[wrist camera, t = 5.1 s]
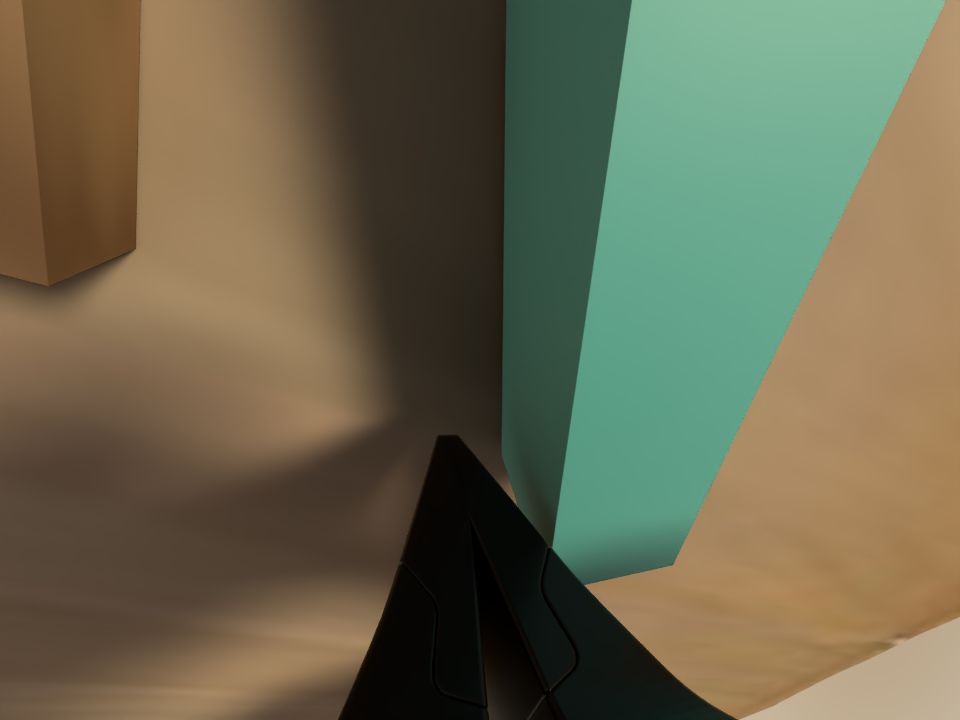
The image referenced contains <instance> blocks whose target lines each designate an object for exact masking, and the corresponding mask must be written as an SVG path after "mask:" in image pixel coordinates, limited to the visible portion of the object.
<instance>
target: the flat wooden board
mask: <svg viewBox="0 0 960 720" xmlns="http://www.w3.org/2000/svg"><path fill="white" fill-rule="evenodd" d="M140 3H141V0H0V274H3V275H6V276H10V277H14V278H18V279H22V280H26V281H30V282H33V283H37V284H41V285H45V286H50V285H52V284H55V283H57V282H59V281H62V280H64V279H66V278H69V277H71V276H73V275H76V274H78V273H80V272H83V271H85V270H87V269H90V268H92V267H94V266H97V265H99V264H101V263H103V262H106V261H108V260H110V259H113V258H115V257H117V256H120V255H122V254H124V253H127V252H129V251H131V250H134V249H136V208H137V157H138V105H139V54H140Z"/></svg>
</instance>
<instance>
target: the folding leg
mask: <svg viewBox="0 0 960 720" xmlns="http://www.w3.org/2000/svg"><path fill="white" fill-rule="evenodd" d="M945 1H946V0H506V84H505V182H504V280H503V378H502V457H503V460H504V464H505V467H506V470H507V473H508V476H509V479H510V482H511V486H512V489H513V492H514V495H515V498H516V501H517V504H518V508H519V509H520V510H521V512H522V513H523V514H524V515H525V516H526V518H527V519H528V520H529V521H530V522H531V524H532V525H533V526H534V527H535V528H536V530H537V531H538V532H539V533H540V534H541V536H542V537H543V538H544V539H545V540H546V542H547V543H548V544H549V547H551V548H552V549H553V550H554V551H555V552H556V554H557V555H558V556H559V557H560V558H561V560H562V561H563V562H564V563H565V564H566V565H567V567H568V568H569V569H570V570H571V571H572V572H573V573H574V575H575V576H576V577H577V578H578V579H579V580H580V581H581V583H582V584H583V585H586V584H590V583H595V582H599V581H604V580H608V579H613V578H617V577H622V576H626V575H631V574H635V573H640V572H644V571H649V570H653V569H658V568H662V567H667V566H671V565H673V564H674V562H675V559H676V557H677V555H678V553H679V551H680V549H681V547H682V545H683V543H684V541H685V539H686V537H687V535H688V533H689V531H690V528H691V526H692V524H693V522H694V520H695V518H696V516H697V514H698V512H699V510H700V508H701V506H702V504H703V502H704V499H705V497H706V495H707V493H708V491H709V489H710V487H711V485H712V483H713V481H714V479H715V477H716V475H717V473H718V471H719V468H720V466H721V464H722V462H723V460H724V458H725V456H726V454H727V452H728V450H729V448H730V446H731V444H732V442H733V440H734V437H735V435H736V433H737V431H738V429H739V427H740V425H741V423H742V421H743V419H744V417H745V415H746V413H747V411H748V408H749V406H750V404H751V402H752V400H753V398H754V396H755V394H756V392H757V390H758V388H759V386H760V384H761V382H762V380H763V377H764V375H765V373H766V371H767V369H768V367H769V365H770V363H771V361H772V359H773V357H774V355H775V353H776V351H777V348H778V346H779V344H780V342H781V340H782V338H783V336H784V334H785V332H786V330H787V328H788V326H789V324H790V322H791V320H792V317H793V315H794V313H795V311H796V309H797V307H798V305H799V303H800V301H801V299H802V297H803V295H804V293H805V291H806V289H807V286H808V284H809V282H810V280H811V278H812V276H813V274H814V272H815V270H816V268H817V266H818V264H819V262H820V260H821V257H822V255H823V253H824V251H825V249H826V247H827V245H828V243H829V241H830V239H831V237H832V235H833V233H834V231H835V229H836V226H837V224H838V222H839V220H840V218H841V216H842V214H843V212H844V210H845V208H846V206H847V204H848V202H849V200H850V198H851V195H852V193H853V191H854V189H855V187H856V185H857V183H858V181H859V179H860V177H861V175H862V173H863V171H864V169H865V166H866V164H867V162H868V160H869V158H870V156H871V154H872V152H873V150H874V148H875V146H876V144H877V142H878V140H879V138H880V135H881V133H882V131H883V129H884V127H885V125H886V123H887V121H888V119H889V117H890V115H891V113H892V111H893V109H894V106H895V104H896V102H897V100H898V98H899V96H900V94H901V92H902V90H903V88H904V86H905V84H906V82H907V80H908V78H909V75H910V73H911V71H912V69H913V67H914V65H915V63H916V61H917V59H918V57H919V55H920V53H921V51H922V49H923V47H924V44H925V42H926V40H927V38H928V36H929V34H930V32H931V30H932V28H933V26H934V24H935V22H936V20H937V18H938V15H939V13H940V11H941V9H942V7H943V5H944V3H945ZM549 547H548V548H549Z"/></svg>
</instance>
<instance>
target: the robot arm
mask: <svg viewBox="0 0 960 720" xmlns="http://www.w3.org/2000/svg"><path fill="white" fill-rule="evenodd" d="M548 547H549V544H548V543H547V542H546V540H545V539H544V538H543V537H542V536H541V534H540V533H539V532H538V531H537V530H536V528H535V527H534V526H533V525H532V524H531V522H530V521H529V520H528V519H527V518H526V516H525V515H524V514H523V513H522V512H521V510H520V509H519V508H518V507H517V506H516V504H515V503H514V502H513V501H512V500H511V498H510V497H509V496H508V495H507V494H506V492H505V491H504V490H503V489H502V488H501V486H500V485H499V484H498V483H497V482H496V480H495V479H494V478H493V477H492V476H491V474H490V473H489V472H488V471H487V470H486V468H485V467H484V466H483V465H482V463H481V462H480V461H479V460H478V459H477V457H476V456H475V455H474V454H473V453H472V451H471V450H470V449H469V448H468V447H467V445H466V444H465V443H464V442H463V441H462V439H461V438H460V437H459V436H458V435H438V436H437V438H436V442H435V445H434V448H433V452H432V455H431V458H430V462H429V465H428V468H427V472H426V475H425V478H424V482H423V485H422V488H421V492H420V495H419V498H418V502H417V505H416V508H415V512H414V515H413V518H412V522H411V525H410V528H409V532H408V535H407V538H406V542H405V545H404V548H403V551H402V555H401V558H400V562H399V565H398V567H397V571H396V574H395V577H394V581H393V584H392V587H391V590H390V593H389V596H388V599H387V602H386V605H385V608H384V611H383V614H382V617H381V619H380V622H379V624H378V626H377V629H376V631H375V634H374V636H373V639H372V641H371V644H370V646H369V649H368V651H367V653H366V656H365V658H364V660H363V663H362V665H361V667H360V670H359V672H358V674H357V676H356V679H355V681H354V683H353V686H352V688H351V690H350V692H349V695H348V697H347V699H346V702H345V704H344V706H343V709H342V711H341V713H340V715H339V718H338V720H737V719H736V718H734V717H732V716H730V715H728V714H727V713H725V712H723V711H721V710H719V709H718V708H716V707H714V706H713V705H711V704H710V703H708V702H707V701H705V700H704V699H702V698H701V697H699V696H698V695H697V694H695V693H694V692H693V691H691V690H690V689H689V688H687V687H686V686H685V685H684V684H683V683H682V682H680V681H679V680H678V679H677V678H676V677H675V676H674V675H673V674H671V673H670V672H669V671H668V670H667V669H666V668H665V667H664V666H663V665H662V664H661V663H660V662H659V661H658V660H657V659H656V658H655V657H654V656H653V655H652V654H651V653H650V652H649V651H648V650H647V649H646V648H645V647H644V646H643V645H642V644H641V643H640V642H639V641H638V640H637V639H636V638H635V637H634V636H633V635H632V634H631V633H630V632H629V631H628V630H627V629H626V628H625V627H624V626H623V625H622V624H621V623H620V622H619V621H618V620H617V619H616V618H615V617H614V616H613V615H612V614H611V613H610V612H609V611H608V610H607V609H606V608H605V607H604V606H603V605H602V604H601V603H600V602H599V600H598V599H597V598H596V597H595V596H594V595H593V594H592V593H591V592H590V591H589V590H588V589H587V588H586V587H585V586H584V585H583V584H582V583H581V581H580V580H579V579H578V578H577V577H576V576H575V575H574V573H573V572H572V571H571V570H570V569H569V568H568V567H567V565H566V564H565V563H564V562H563V561H562V560H561V558H560V557H559V556H558V555H557V554H556V552H555V551H554V550H553V549H552V548H551V547H549V548H548Z"/></svg>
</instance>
